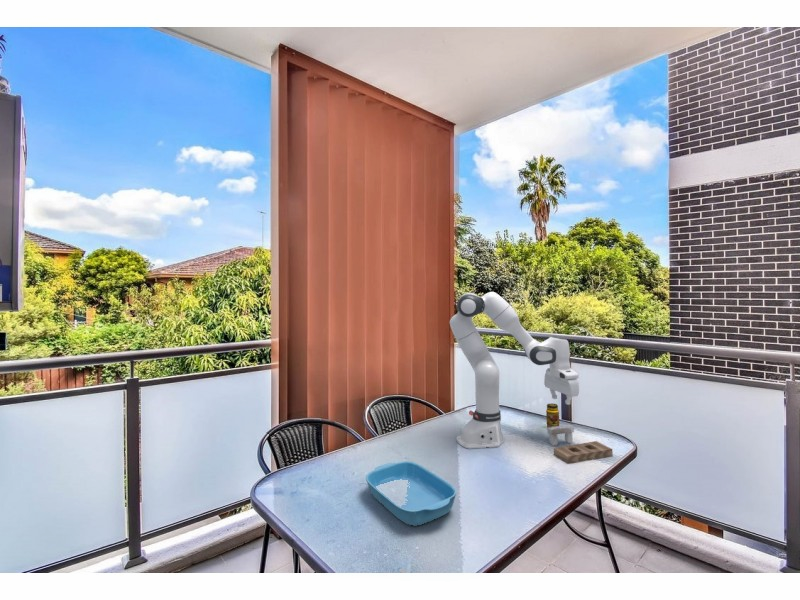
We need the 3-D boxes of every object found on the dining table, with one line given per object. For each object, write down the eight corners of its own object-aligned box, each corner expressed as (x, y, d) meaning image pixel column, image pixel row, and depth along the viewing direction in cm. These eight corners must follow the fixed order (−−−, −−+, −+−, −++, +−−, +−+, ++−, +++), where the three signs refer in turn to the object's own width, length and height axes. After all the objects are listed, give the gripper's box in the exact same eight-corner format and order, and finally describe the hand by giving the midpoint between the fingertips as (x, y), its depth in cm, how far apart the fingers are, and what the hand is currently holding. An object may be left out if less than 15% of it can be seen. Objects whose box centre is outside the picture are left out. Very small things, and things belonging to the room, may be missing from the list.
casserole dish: (357, 489, 141) (356, 470, 141) (407, 472, 153) (406, 455, 153) (412, 543, 110) (411, 518, 110) (470, 516, 122) (469, 494, 122)
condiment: (552, 431, 191) (552, 407, 191) (540, 426, 199) (539, 403, 198) (563, 428, 194) (563, 405, 194) (551, 423, 202) (550, 401, 201)
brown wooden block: (567, 463, 155) (567, 456, 155) (553, 454, 164) (553, 448, 164) (612, 456, 160) (612, 448, 160) (596, 447, 169) (596, 441, 169)
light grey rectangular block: (551, 446, 173) (551, 429, 172) (547, 443, 176) (547, 427, 175) (574, 442, 176) (574, 426, 175) (570, 440, 178) (569, 424, 178)
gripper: (540, 368, 184) (541, 396, 184) (568, 376, 164) (569, 408, 164) (551, 366, 186) (552, 395, 186) (581, 375, 166) (582, 406, 166)
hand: (561, 401), depth 175 cm, fingers open, 8 cm apart
